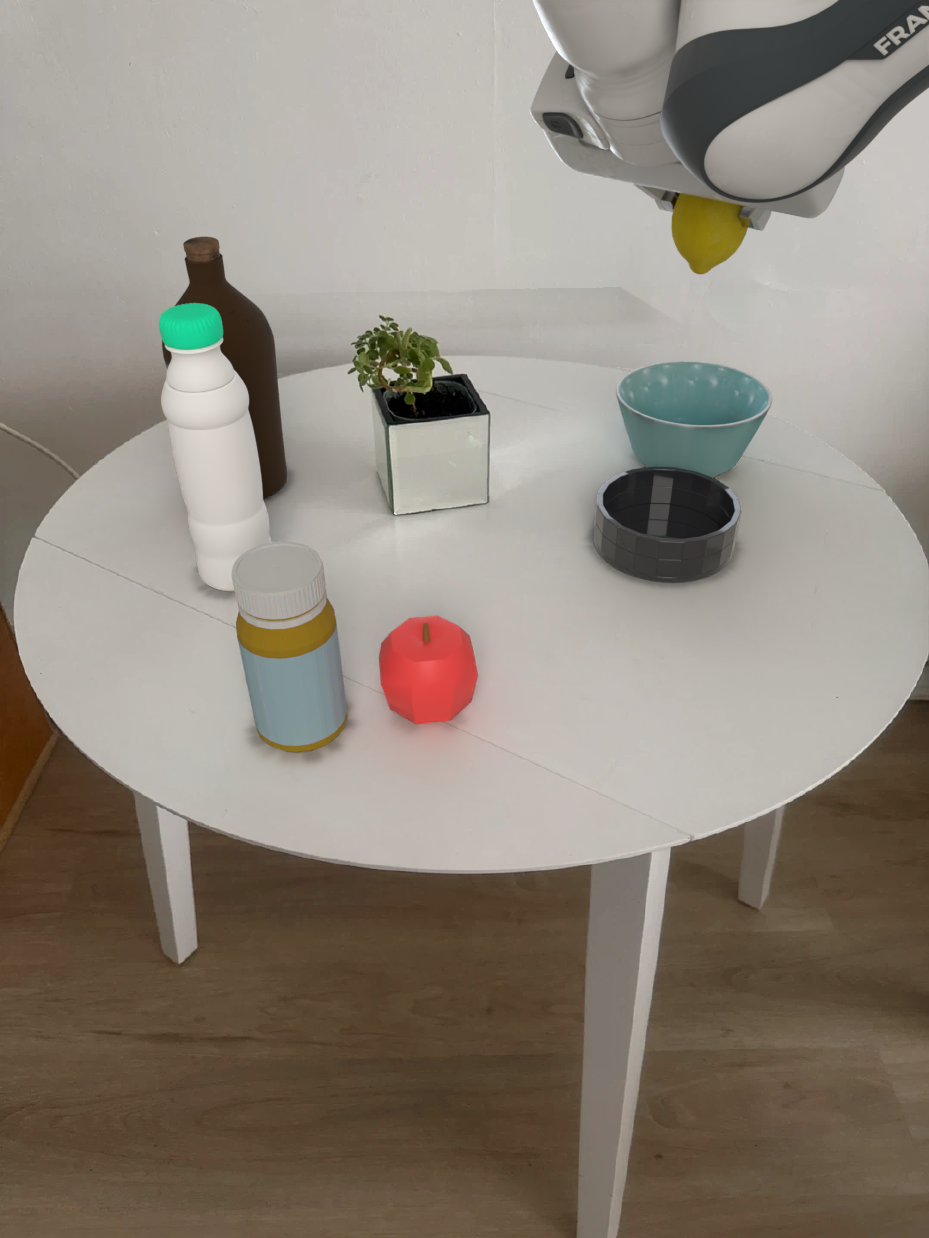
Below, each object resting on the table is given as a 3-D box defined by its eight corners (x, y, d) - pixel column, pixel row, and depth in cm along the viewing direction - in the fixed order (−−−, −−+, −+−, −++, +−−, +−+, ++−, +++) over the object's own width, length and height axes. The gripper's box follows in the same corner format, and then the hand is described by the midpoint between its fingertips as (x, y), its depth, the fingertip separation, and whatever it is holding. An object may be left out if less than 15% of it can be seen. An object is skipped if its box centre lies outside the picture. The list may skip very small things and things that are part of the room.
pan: (745, 521, 98) (753, 482, 95) (715, 596, 89) (723, 555, 86) (616, 494, 102) (620, 456, 100) (575, 563, 93) (577, 523, 90)
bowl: (583, 445, 111) (588, 375, 106) (701, 415, 116) (711, 348, 111) (663, 513, 99) (672, 440, 94) (789, 477, 105) (805, 406, 99)
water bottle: (240, 604, 89) (187, 336, 73) (183, 579, 92) (121, 317, 76) (292, 565, 93) (253, 305, 78) (237, 542, 97) (188, 288, 81)
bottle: (364, 708, 78) (347, 551, 69) (317, 768, 73) (292, 608, 64) (289, 684, 81) (262, 528, 71) (239, 740, 76) (203, 582, 66)
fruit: (751, 283, 74) (771, 169, 69) (681, 289, 73) (696, 174, 68) (721, 258, 78) (738, 149, 73) (654, 264, 77) (666, 153, 72)
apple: (464, 747, 75) (463, 667, 70) (364, 728, 76) (356, 648, 71) (491, 678, 81) (491, 600, 76) (398, 662, 82) (392, 584, 77)
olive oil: (269, 447, 111) (234, 216, 96) (309, 489, 104) (278, 247, 89) (177, 474, 107) (125, 236, 91) (212, 519, 100) (162, 270, 84)
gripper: (846, 57, 56) (871, 197, 68) (550, 24, 66) (617, 151, 78) (797, 158, 56) (830, 281, 68) (508, 110, 66) (581, 224, 78)
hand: (714, 211), depth 73 cm, fingers closed on fruit, 5 cm apart
